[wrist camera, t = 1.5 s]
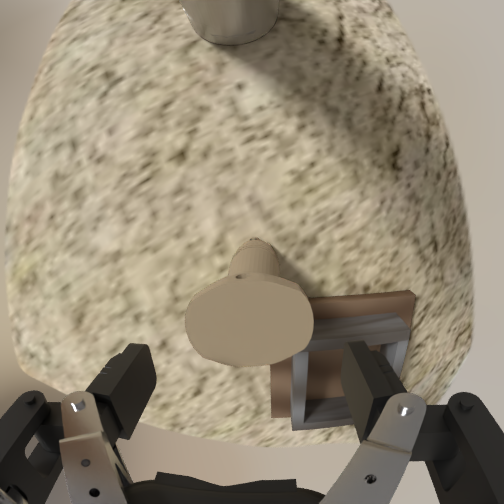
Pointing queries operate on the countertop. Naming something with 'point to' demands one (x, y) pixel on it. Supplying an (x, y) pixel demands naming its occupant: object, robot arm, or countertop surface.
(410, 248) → the countertop surface
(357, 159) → the countertop surface
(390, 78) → the countertop surface
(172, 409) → the countertop surface
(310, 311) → the handle
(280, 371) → the socket block
